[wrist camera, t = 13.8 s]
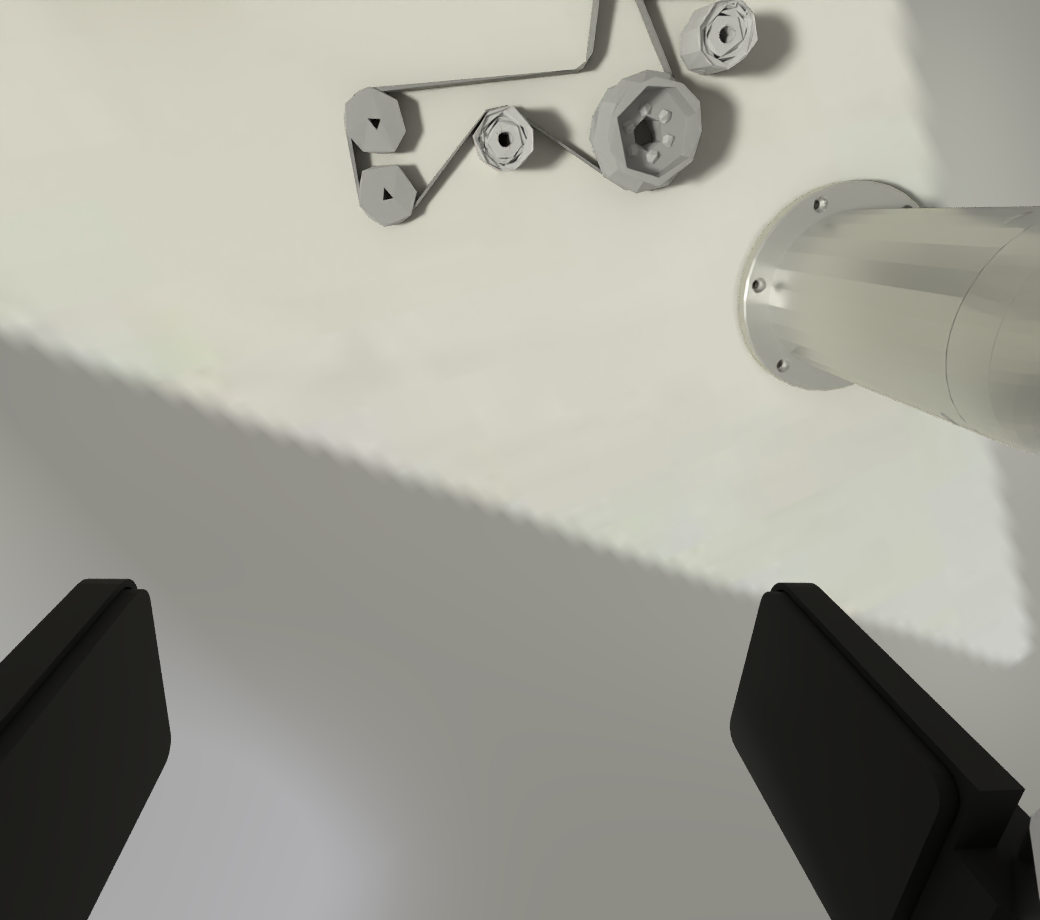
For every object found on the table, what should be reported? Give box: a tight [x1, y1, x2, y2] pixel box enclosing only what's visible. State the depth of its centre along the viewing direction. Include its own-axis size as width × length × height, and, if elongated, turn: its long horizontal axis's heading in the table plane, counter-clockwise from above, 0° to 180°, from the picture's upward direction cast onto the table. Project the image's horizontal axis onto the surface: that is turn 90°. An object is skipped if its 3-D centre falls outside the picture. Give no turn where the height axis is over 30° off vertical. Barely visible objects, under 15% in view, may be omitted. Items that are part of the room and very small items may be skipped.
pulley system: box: [344, 0, 758, 227], centre depth 32 cm, size 27×5×15 cm
